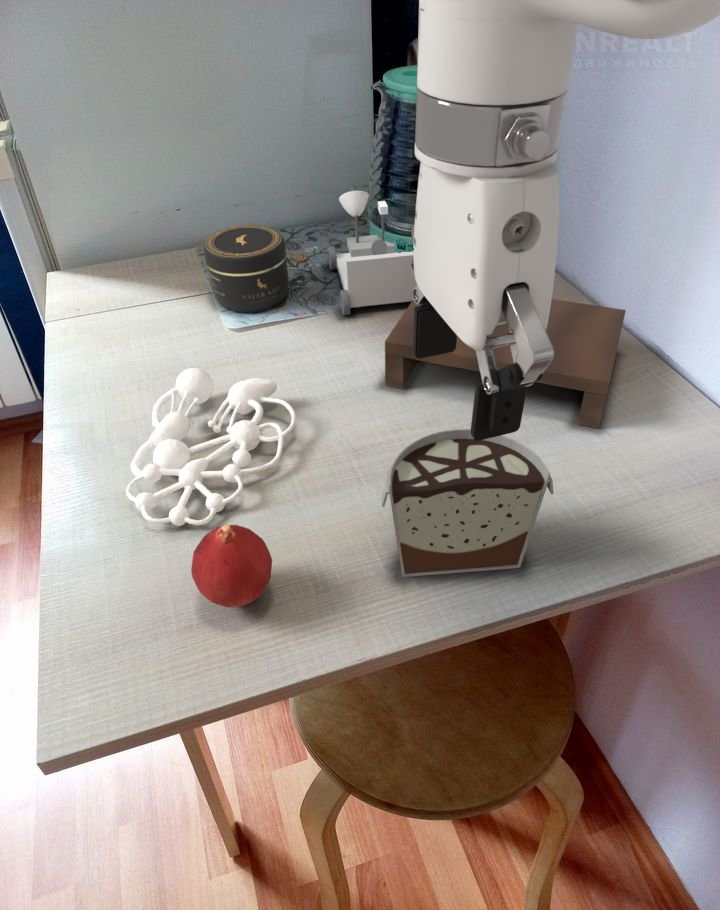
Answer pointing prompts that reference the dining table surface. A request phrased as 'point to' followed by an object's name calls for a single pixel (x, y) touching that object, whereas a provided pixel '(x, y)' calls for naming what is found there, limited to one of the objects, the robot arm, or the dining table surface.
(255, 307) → the jar
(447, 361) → the shelf
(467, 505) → the food container
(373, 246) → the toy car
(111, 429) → the dining table surface
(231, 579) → the onion
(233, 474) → the tangled rod sculpture
